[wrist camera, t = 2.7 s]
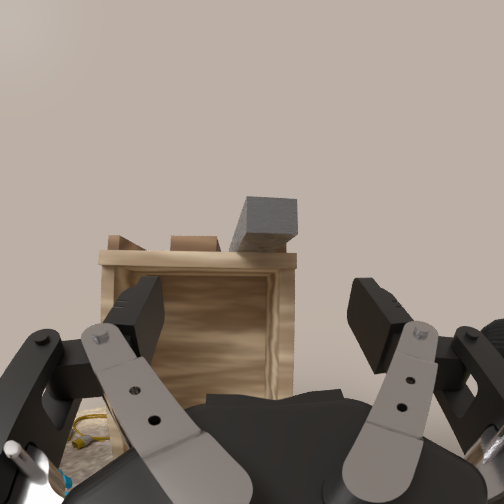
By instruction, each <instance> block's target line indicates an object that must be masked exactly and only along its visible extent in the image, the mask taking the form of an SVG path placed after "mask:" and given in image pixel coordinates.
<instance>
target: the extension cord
mask: <svg viewBox="0 0 504 504" xmlns="http://www.w3.org/2000/svg"><path fill="white" fill-rule="evenodd" d="M89 416H96V417H89ZM84 417H85V418H84ZM89 418H107V414H92V415H85V416H82V417H79V418H78V419H76V420H75V421H74V422H73V425H72V426H73V428H74V429H75V431H76V432H77V433H78V434H80V435H81V436H82V437H80V438H78V439H77V440H75V441H73V442H72V445H73V447H74V448H75V447H77V448H78V450H79V449H80V448H81V447H85V446H87V445H88V444H89V443H90V442H91V441H92V440H97V441H106V440H100V439H110V437H91V436H89V435H88V436H86V435H85V436H84V435H82V434H81V433H80V432H78V431H77V430H76V428H75V423H76V422H77V421H79V420H82V419H89ZM71 434H72V428H71V431H70V434H69V437H68V440H67V441H69V439H70V438H71Z"/></svg>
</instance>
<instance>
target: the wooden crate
mask: <svg viewBox="0 0 504 504" xmlns="http://www.w3.org/2000/svg"><path fill="white" fill-rule="evenodd" d="M296 257H297V253H286V243H285V244H284V245H283V246H281V247H280V248H278V249H277V250H276V251H274V252H273V253H260V252H221V250H220V246H219V243H218V240H217V237H216V236H171V248H170V251H147V250H145V249H143V248H141V247H140V246H138V245H136V244H134V243H132V242H130V241H129V240H127V239H125V238H123V237H121V236H118V235H117V236H115V235H114V236H113V235H109V239H108V250H99V260H98V261H99V262H98V264H99V265H102V278H101V323H103V321H104V319H105V318H106V316H107V315H108V313H109V311H110V310H111V308H112V307H113V305H114V303H115V302H116V301H117V299H118V297H119V296H120V294H121V293H122V292H123V291H125V290H126V289H128V288H129V287H135V286H136V284H137V283H138V281H139V279H140V278H141V276H159V277H160V279H161V284H162V293H163V302H164V310H165V319H164V325H163V328H162V331H161V334H160V337H159V340H158V343H157V346H156V349H155V352H154V355H153V358H152V361H151V364H150V367H151V368H152V369H153V371H154V372H155V374H156V375H157V376H158V378H159V379H160V380H161V382H162V383H163V384H164V386H165V387H166V388H167V389H168V391H169V392H170V393H171V395H172V396H173V397H174V398H175V400H176V401H177V402H178V403H179V405H180V406H181V407H182V408H183V410H184V409H186V408H189V407H191V406H195V405H199V404H204V403H206V394H242V395H247V396H253V397H259V398H265V399H271V400H279V399H284V398H288V397H292V396H293V370H294V321H295V319H294V317H295V269H296V268H297V258H296ZM106 412H107V420H108V428H109V435H110V441H111V447H112V453H113V459H114V460H115V459H116V458H117V457H119V456H120V455H121V454H123V453H124V452H125V451H127V450H128V449H129V448H128V446H127V445H126V443H125V441H124V439H123V437H122V435H121V433H120V431H119V429H118V428H117V426H116V424H115V422H114V420H113V418H112V416H111V414H110V412H109V410H108V408H107V406H106Z"/></svg>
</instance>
